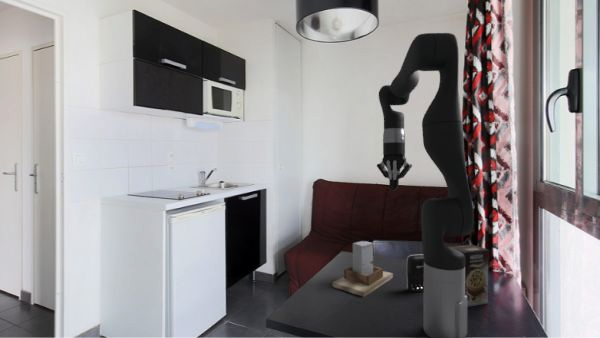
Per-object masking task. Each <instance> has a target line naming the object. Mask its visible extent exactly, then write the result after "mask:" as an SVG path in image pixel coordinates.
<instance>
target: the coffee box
mask: <svg viewBox="0 0 600 338" xmlns="http://www.w3.org/2000/svg"><path fill="white" fill-rule="evenodd" d="M448 247H449V248H453V249H455V250H458V251H460V252H462V253H463V254H464V256H465V295H466V296H467V308H469V307H475V306H479V305H480V306H481V305H486V304H488V301H489V300H488V299H489V296H488V295H489V294H488V293H489V256H490V255H489V253H490V250H489V249H487V248H485V247H481V246H478V245H474V244H465V245H464V244H463V245H455V246H453V245H452V246H448Z"/></svg>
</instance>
